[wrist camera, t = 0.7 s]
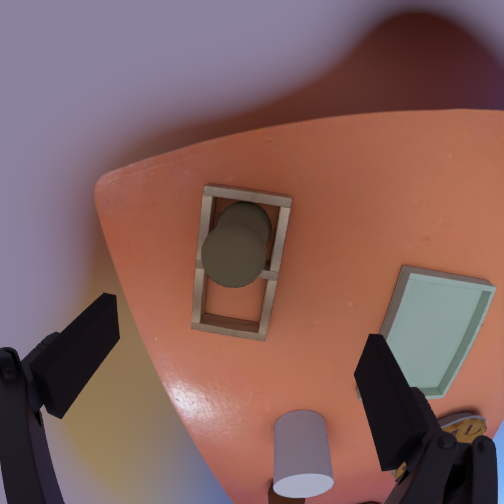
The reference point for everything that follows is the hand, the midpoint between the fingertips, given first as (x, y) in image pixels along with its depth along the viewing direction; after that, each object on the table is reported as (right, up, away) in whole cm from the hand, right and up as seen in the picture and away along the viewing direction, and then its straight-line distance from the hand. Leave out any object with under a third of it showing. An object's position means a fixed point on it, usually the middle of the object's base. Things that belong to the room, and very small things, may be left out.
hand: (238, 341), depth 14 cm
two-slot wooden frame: (-1, +3, +20) cm, 20 cm away
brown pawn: (0, +7, +19) cm, 20 cm away
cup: (+8, -23, +28) cm, 37 cm away
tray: (+25, -8, +21) cm, 34 cm away
